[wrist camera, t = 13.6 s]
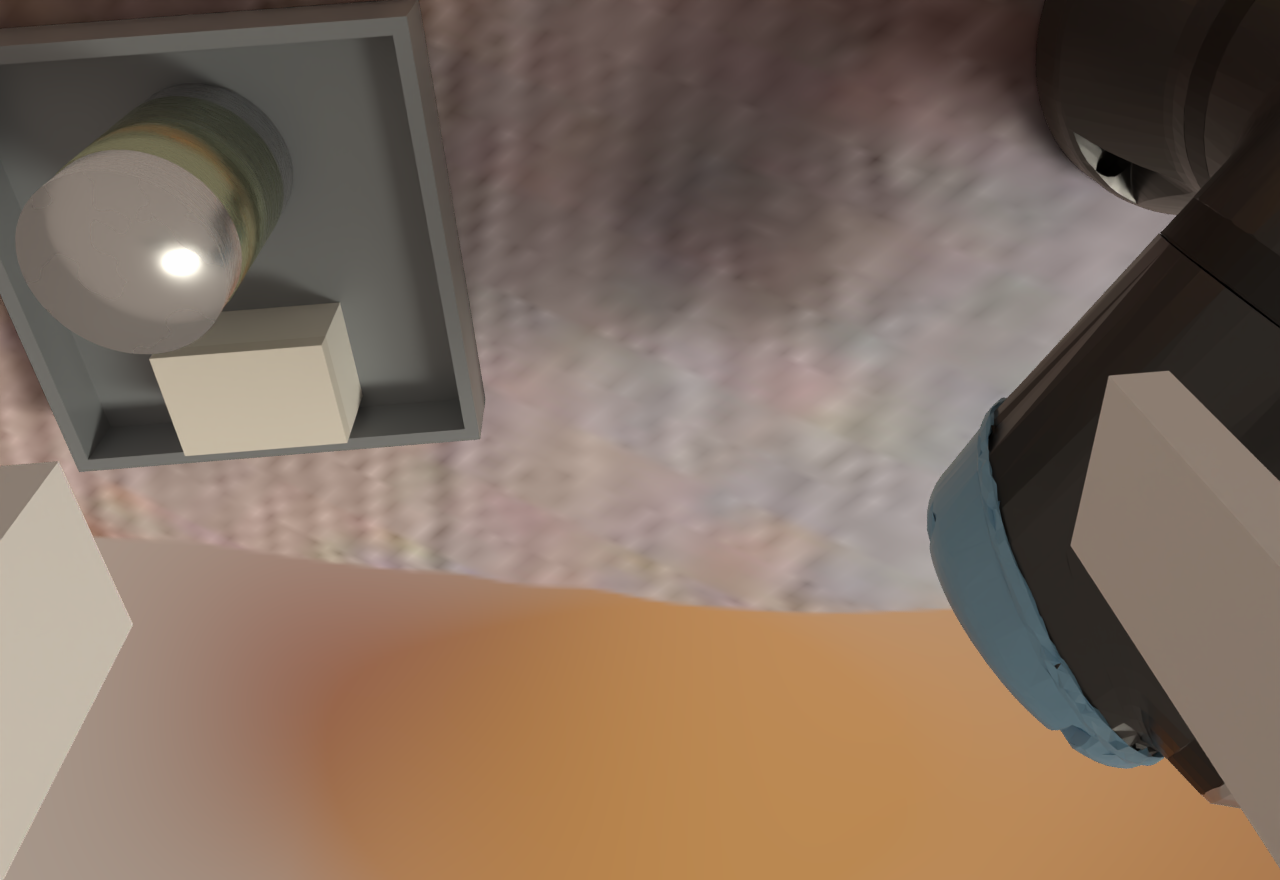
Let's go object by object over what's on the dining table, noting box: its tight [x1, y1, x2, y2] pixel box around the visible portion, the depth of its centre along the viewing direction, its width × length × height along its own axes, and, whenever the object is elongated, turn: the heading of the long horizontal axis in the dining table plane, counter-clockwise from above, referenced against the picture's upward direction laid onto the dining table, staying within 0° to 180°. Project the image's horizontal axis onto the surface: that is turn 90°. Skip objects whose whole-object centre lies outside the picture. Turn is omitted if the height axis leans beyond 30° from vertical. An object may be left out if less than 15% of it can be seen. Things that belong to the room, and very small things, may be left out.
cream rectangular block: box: [149, 302, 363, 456], centre depth 44 cm, size 7×5×4 cm
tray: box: [0, 0, 485, 472], centre depth 42 cm, size 18×18×4 cm
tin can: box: [15, 83, 293, 354], centre depth 37 cm, size 6×6×10 cm
